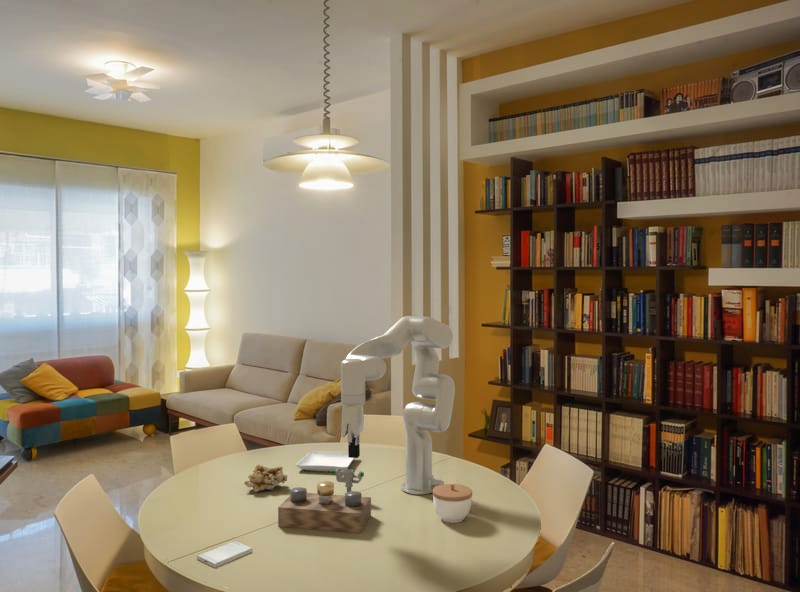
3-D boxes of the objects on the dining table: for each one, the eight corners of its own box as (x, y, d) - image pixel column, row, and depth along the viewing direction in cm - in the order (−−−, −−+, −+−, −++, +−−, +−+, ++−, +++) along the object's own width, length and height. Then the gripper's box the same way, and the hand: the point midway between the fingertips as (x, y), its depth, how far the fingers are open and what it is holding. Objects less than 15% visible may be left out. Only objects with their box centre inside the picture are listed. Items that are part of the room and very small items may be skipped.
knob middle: (335, 506, 201) (335, 481, 201) (331, 512, 196) (330, 487, 195) (320, 505, 202) (320, 480, 202) (315, 511, 197) (314, 486, 196)
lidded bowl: (445, 529, 193) (446, 493, 192) (425, 515, 204) (425, 481, 203) (480, 521, 199) (480, 487, 198) (458, 508, 210) (458, 475, 209)
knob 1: (309, 512, 203) (308, 487, 202) (303, 518, 198) (303, 493, 197) (293, 511, 204) (293, 486, 203) (287, 517, 199) (287, 492, 198)
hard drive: (234, 540, 182) (196, 554, 172) (252, 547, 177) (214, 563, 167) (234, 546, 182) (196, 560, 172) (252, 553, 177) (214, 569, 167)
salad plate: (310, 457, 269) (310, 449, 269) (358, 459, 266) (358, 451, 266) (295, 473, 248) (294, 464, 248) (347, 475, 245) (347, 466, 245)
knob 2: (363, 516, 199) (363, 491, 199) (359, 522, 194) (359, 497, 194) (347, 515, 200) (347, 490, 200) (342, 521, 195) (342, 496, 195)
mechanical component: (362, 501, 216) (362, 473, 215) (333, 499, 218) (333, 471, 217) (364, 498, 219) (364, 470, 218) (336, 496, 221) (336, 468, 220)
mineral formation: (255, 480, 237) (294, 480, 235) (243, 499, 224) (283, 498, 222) (253, 461, 236) (291, 460, 234) (240, 478, 223) (281, 477, 221)
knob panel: (370, 515, 203) (370, 497, 203) (359, 533, 190) (359, 513, 189) (294, 509, 208) (294, 491, 208) (278, 526, 195) (278, 507, 194)
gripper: (348, 393, 204) (349, 449, 205) (334, 403, 189) (335, 463, 190) (370, 394, 203) (371, 450, 203) (358, 404, 188) (359, 465, 189)
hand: (354, 456), depth 197 cm, fingers closed
